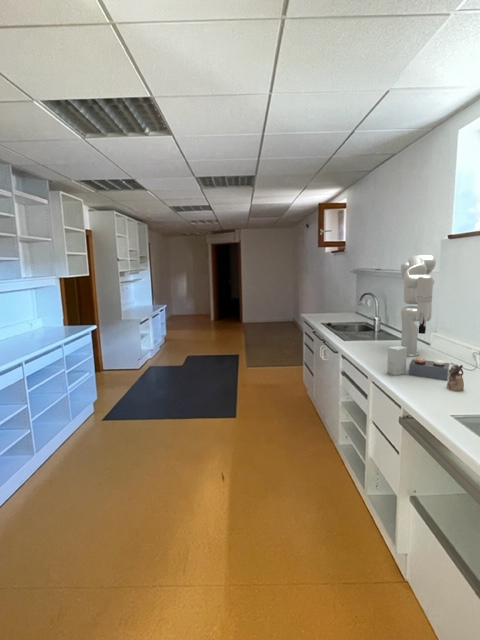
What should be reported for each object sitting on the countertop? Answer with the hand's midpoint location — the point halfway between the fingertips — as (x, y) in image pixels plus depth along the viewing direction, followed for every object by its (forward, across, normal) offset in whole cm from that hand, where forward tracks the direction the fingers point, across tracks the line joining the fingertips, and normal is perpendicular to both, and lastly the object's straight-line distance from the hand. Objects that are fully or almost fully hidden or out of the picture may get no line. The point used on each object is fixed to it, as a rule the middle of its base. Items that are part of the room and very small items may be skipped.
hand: (421, 333), depth 194 cm
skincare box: (+22, +7, -10) cm, 26 cm away
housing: (+22, +1, +5) cm, 23 cm away
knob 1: (+22, +1, 0) cm, 22 cm away
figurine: (+22, +19, +18) cm, 34 cm away
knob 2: (+22, +1, +9) cm, 24 cm away
